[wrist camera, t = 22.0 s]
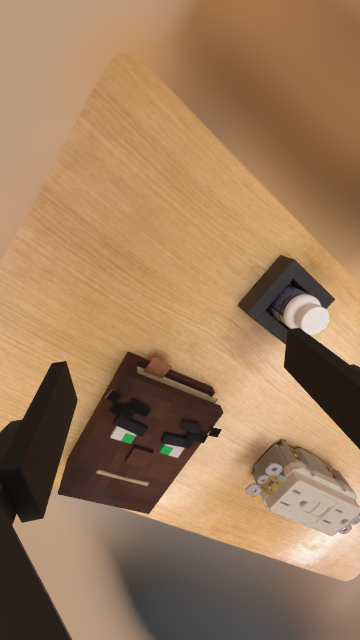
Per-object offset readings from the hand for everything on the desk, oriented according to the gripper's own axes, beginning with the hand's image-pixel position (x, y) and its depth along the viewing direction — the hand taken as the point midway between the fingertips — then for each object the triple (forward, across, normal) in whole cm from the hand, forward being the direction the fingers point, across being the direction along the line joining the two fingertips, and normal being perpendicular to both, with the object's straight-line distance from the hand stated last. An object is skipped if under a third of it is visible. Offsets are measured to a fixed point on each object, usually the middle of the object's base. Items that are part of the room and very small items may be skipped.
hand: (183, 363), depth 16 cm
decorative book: (+25, -6, -28) cm, 38 cm away
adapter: (+25, +20, -7) cm, 33 cm away
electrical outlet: (+25, +25, -48) cm, 59 cm away
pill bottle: (+25, +20, -7) cm, 33 cm away
